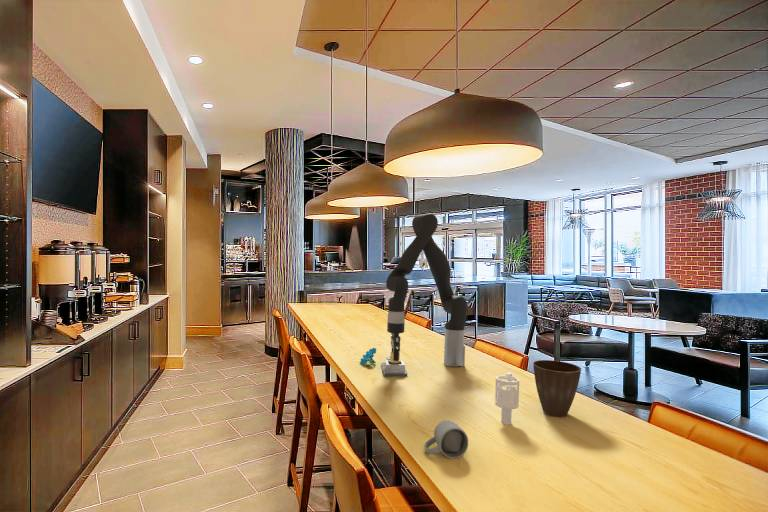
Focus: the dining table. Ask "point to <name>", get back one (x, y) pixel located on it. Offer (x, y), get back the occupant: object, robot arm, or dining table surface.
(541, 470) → the dining table surface
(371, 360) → the gear
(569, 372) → the plant pot
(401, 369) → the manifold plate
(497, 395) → the white stepped cylinder
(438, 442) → the ceramic mug
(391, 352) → the cylinder
